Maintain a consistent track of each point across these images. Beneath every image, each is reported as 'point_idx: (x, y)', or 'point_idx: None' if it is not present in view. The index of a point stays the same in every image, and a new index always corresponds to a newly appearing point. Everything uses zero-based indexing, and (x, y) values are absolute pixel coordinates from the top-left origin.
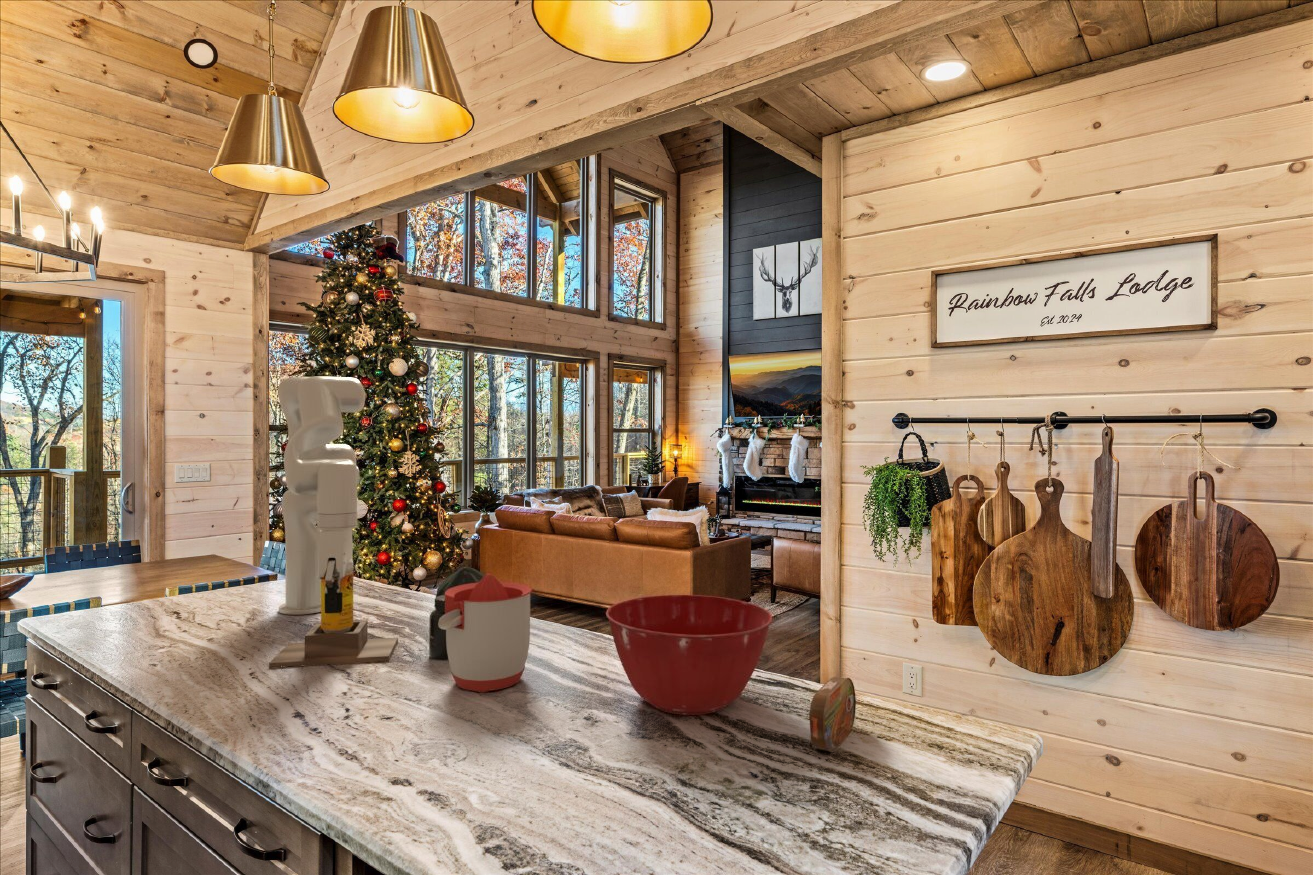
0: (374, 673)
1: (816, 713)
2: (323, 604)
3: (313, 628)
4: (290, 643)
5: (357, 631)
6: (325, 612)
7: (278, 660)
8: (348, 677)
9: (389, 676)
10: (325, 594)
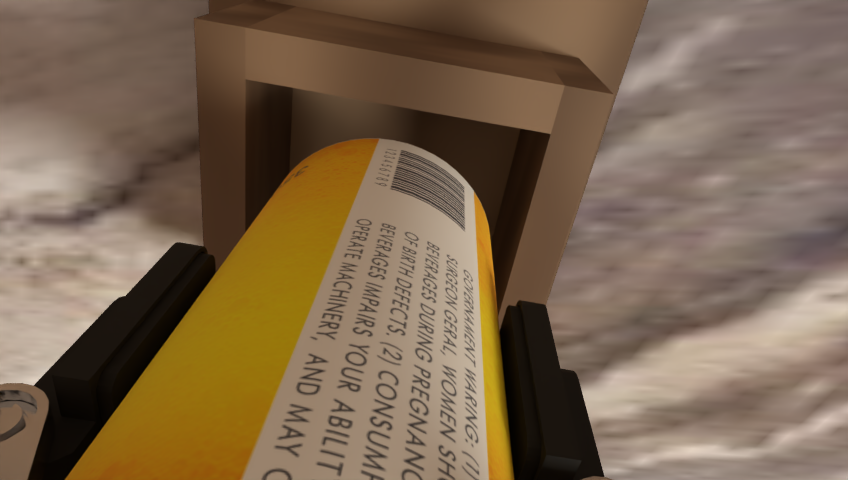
0: (68, 309)
1: None
2: (233, 261)
3: (416, 75)
4: None
5: None
6: (176, 246)
7: None
8: (18, 218)
9: (30, 352)
10: (61, 373)
